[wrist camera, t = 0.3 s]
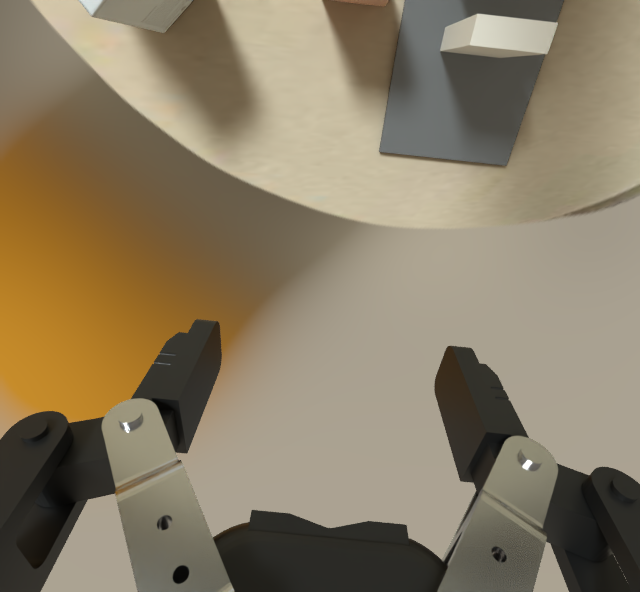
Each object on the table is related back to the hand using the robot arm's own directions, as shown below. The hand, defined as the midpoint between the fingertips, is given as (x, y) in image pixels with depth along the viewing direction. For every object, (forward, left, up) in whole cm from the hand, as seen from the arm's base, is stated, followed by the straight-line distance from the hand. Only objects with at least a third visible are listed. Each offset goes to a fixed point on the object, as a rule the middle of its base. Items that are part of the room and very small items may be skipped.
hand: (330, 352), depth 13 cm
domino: (-11, +10, -26) cm, 30 cm away
